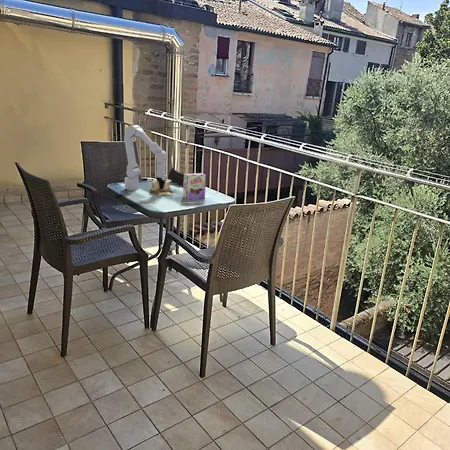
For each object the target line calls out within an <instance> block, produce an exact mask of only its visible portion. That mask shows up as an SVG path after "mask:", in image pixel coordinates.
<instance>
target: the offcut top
mask: <svg viewBox="0 0 450 450" xmlns="http://www.w3.org/2000/svg"><path fill="white" fill-rule="evenodd" d="M157 194H158V195H159V196H158V197H165V196H167V197H168V195H171V196H172V193H170V192H168V193H157Z"/></svg>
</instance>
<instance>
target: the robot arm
mask: <svg viewBox="0 0 450 450" xmlns="http://www.w3.org/2000/svg"><path fill="white" fill-rule="evenodd" d="M135 137H137V138H138V137H139V138H140V139H142V140H143V142H144V143H146V144H147V145H148V149H149V150H150V151H151V152H152V154H154V155H155V159H156V177H155V179H156V182H159V187H160V189H163V187H164V184H165V182H166V181H167V179H166V177H167V178H168V175H167V174H166V166H167V163H166V161H167V158H168V154H167V152H166V151H165V150H163V148H161V147H160V146H159V144H158V142H155V141H153V140H152V139H151V138H150V137H149V136H148V135H147V133H145V131H144V130H143V128H142V127H141V126H140V125H138V124H134V125H128V126H127V127H126V128H125V133H124V136H123V140H124V144H125V145H124V146H125V152H126V158H127V163H128V164H127V165H126V176H127V177H126V176H125V178H124V189H125V188H126V189H127V190H129V191H138V190H140V184H139V183H140V177H139V176H140V174H141V169H140V167H139V164H138V163H137V160H136V159H137V158H136V154H135V152H136V151H135V145H134V139H135Z"/></svg>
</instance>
